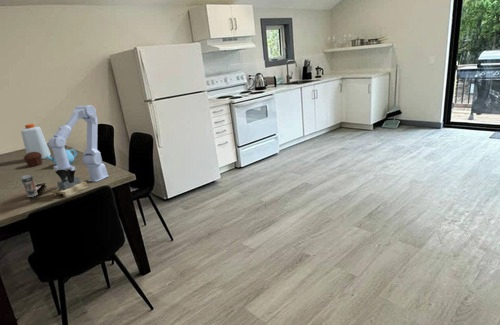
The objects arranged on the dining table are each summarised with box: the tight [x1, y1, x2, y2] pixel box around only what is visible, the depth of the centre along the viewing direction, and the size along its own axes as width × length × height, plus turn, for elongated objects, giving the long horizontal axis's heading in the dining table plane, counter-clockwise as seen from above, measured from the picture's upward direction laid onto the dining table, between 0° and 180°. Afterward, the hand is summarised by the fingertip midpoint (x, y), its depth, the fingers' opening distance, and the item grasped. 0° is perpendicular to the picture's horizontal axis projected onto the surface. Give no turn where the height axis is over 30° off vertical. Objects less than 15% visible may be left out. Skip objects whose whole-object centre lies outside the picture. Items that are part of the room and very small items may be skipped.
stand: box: [51, 181, 89, 198], centre depth 176 cm, size 14×10×3 cm
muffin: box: [23, 152, 43, 168], centre depth 239 cm, size 12×11×10 cm
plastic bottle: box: [20, 123, 52, 160], centre depth 256 cm, size 15×15×28 cm
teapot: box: [46, 148, 78, 166], centre depth 231 cm, size 20×17×12 cm
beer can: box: [20, 174, 38, 198], centre depth 173 cm, size 5×5×12 cm
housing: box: [56, 175, 82, 191], centre depth 175 cm, size 12×5×5 cm, turn 157°
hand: (68, 182), depth 175 cm, fingers closed on housing, 5 cm apart
